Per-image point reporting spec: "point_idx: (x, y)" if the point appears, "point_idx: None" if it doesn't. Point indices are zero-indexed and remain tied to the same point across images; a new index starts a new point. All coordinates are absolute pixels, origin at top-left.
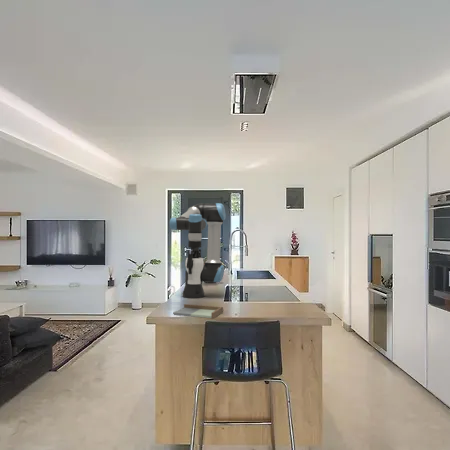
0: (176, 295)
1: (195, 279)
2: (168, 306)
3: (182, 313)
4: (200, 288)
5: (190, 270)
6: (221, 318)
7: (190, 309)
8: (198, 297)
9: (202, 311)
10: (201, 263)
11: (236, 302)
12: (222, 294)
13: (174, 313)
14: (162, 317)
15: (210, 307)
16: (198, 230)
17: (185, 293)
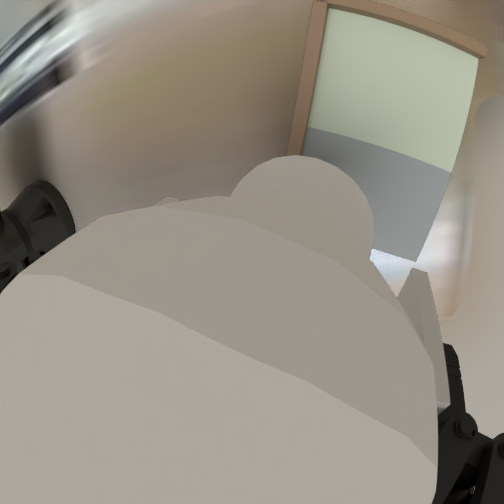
0: None
1: (363, 237)
2: None
3: (435, 215)
4: (26, 205)
5: (460, 394)
6: (466, 11)
7: None
8: (59, 196)
9: (377, 106)
10: (341, 364)
11: (80, 20)
12: (4, 131)
13: (418, 253)
14: (458, 291)
15: (317, 62)
16: None
17: None
